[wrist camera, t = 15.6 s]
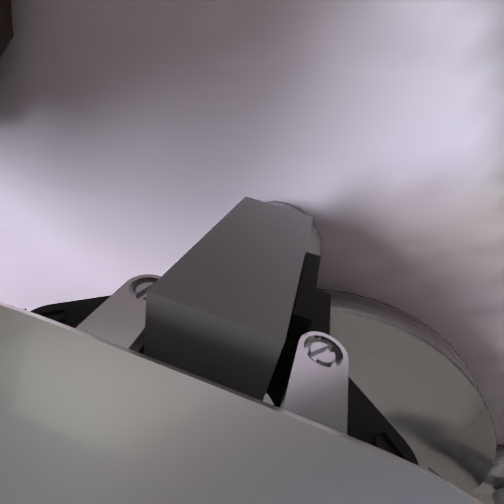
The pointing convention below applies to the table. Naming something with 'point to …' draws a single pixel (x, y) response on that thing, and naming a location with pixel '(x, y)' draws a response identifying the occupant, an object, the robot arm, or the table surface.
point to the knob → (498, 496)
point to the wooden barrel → (5, 24)
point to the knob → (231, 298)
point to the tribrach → (417, 387)
